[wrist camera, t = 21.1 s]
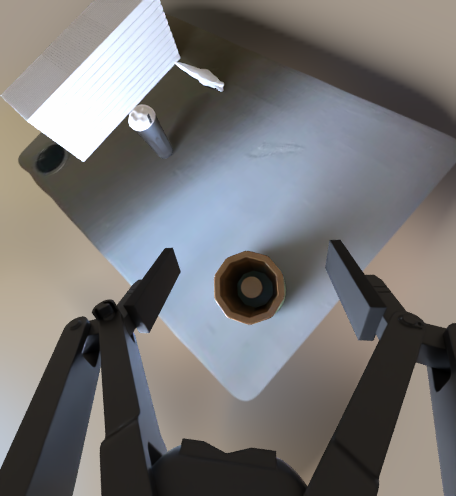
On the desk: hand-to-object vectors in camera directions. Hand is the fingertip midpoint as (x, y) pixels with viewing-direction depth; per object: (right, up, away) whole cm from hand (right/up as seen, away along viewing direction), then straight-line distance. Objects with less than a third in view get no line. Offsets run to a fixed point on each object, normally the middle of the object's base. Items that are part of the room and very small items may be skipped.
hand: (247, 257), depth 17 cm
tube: (+2, -5, +13) cm, 14 cm away
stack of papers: (-27, +35, +29) cm, 52 cm away
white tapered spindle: (-8, +37, +26) cm, 46 cm away
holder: (+3, -6, +14) cm, 15 cm away
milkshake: (-14, +20, +23) cm, 33 cm away
